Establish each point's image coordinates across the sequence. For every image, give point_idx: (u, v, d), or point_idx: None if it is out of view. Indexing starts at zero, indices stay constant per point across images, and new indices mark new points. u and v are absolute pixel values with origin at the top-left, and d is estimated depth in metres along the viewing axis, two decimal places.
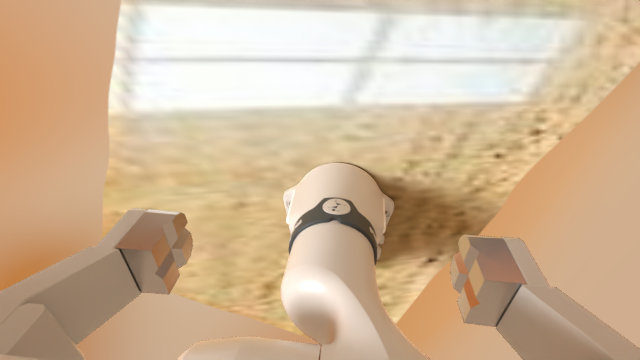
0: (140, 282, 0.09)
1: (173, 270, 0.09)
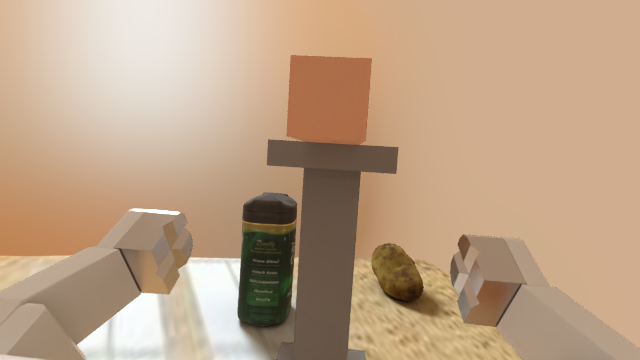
0: (140, 282, 0.09)
1: (173, 270, 0.09)
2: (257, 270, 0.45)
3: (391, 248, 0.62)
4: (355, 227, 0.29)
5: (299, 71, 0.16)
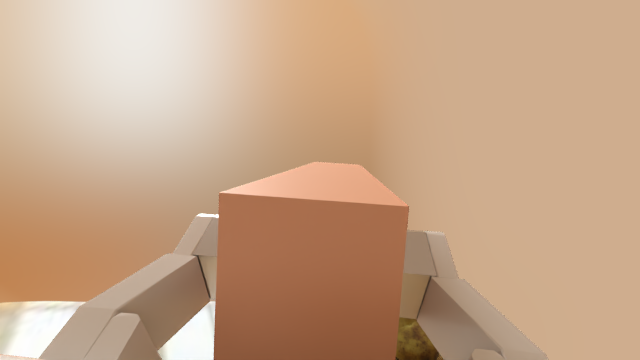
0: (212, 289, 0.09)
1: None
2: None
3: None
4: None
5: (239, 229, 0.07)
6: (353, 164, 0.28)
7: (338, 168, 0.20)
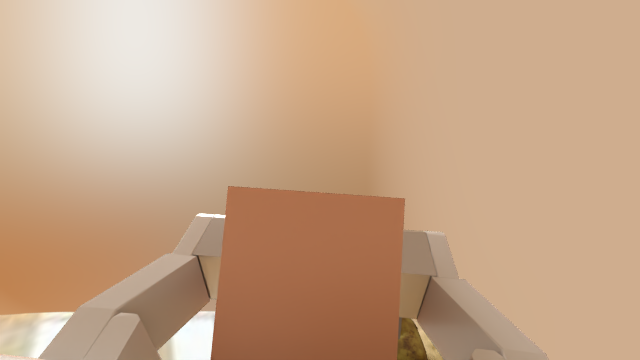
0: (211, 289, 0.09)
1: None
2: None
3: None
4: None
5: (245, 221, 0.07)
6: None
7: None
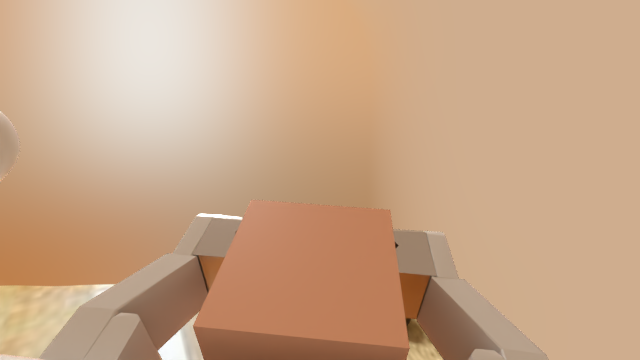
0: None
1: None
2: None
3: None
4: None
5: (260, 217, 0.09)
6: None
7: None
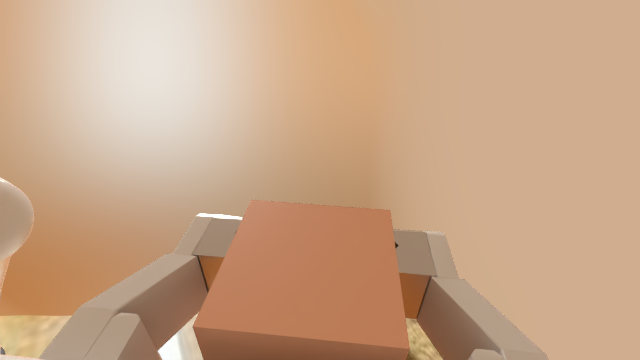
0: None
1: None
2: None
3: None
4: None
5: (261, 217, 0.09)
6: None
7: None
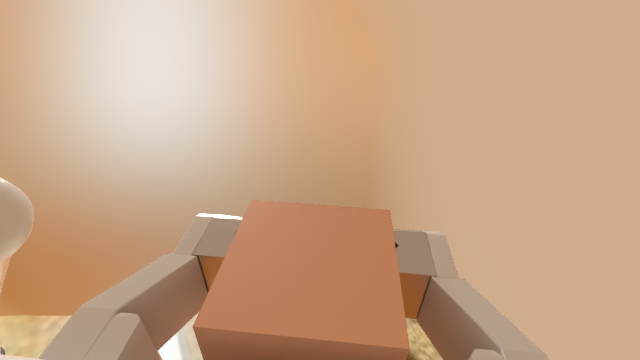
0: None
1: None
2: None
3: None
4: None
5: (261, 218, 0.09)
6: None
7: None
